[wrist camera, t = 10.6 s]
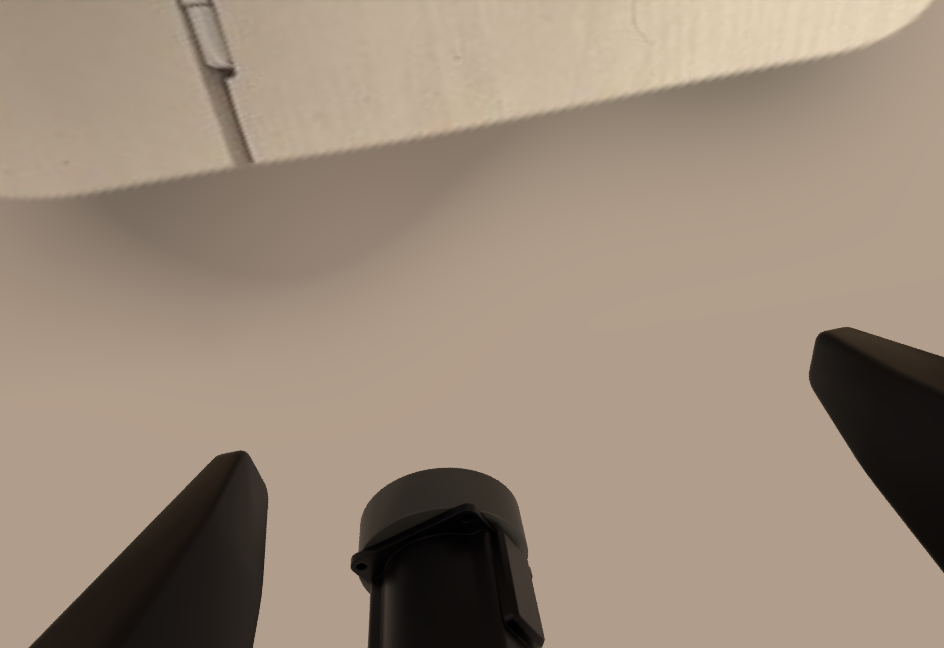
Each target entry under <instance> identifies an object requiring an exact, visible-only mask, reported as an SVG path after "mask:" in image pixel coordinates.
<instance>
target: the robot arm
mask: <svg viewBox="0 0 944 648" xmlns="http://www.w3.org/2000/svg"><path fill="white" fill-rule="evenodd" d="M809 380H810V384H811V387H812V389H813V390H814V392H815V393H816V395H817V397H818V399H819V400H820V402H821V403H822V405H823V407H824V408H825V410H826V411H827V413H828V414H829V416H830V418H831V419H832V421H833V423H834V424H835V426H836V427H837V429H838V430H839V432H840V434H841V435H842V437H843V438H844V440H845V442H846V443H847V445H848V446H849V448H850V449H851V451H852V452H853V454H854V456H855V458H856V459H857V461H858V462H859V463H860V465H861V466H862V468H863V469H864V471H865V472H866V474H867V475H868V476H869V477H870V479H871V480H872V482H873V483H874V484H875V486H876V487H877V488H878V489H879V491H880V492H881V493H882V495H884V497H885V498H886V500H887V501H888V502H889V503H890V505H891V506H892V507H893V508H894V510H895V511H896V512H897V514H898V515H899V516H900V517H901V519H902V520H903V521H904V523H905V524H906V525H907V526H908V528H909V529H910V530H911V532H912V533H913V534H914V535H915V537H916V538H917V539H918V540H919V542H920V543H921V544H922V546H923V547H924V548H925V549H926V551H927V552H928V553H929V555H930V556H931V557H932V558H933V560H934V561H935V562H936V564H937V565H938V566H939V567H940V569H941V570H942V571H943V573H944V357H942V356H939V355H935V354H932V353H929V352H926V351H923V350H920V349H916V348H913V347H910V346H907V345H904V344H900V343H897V342H894V341H891V340H888V339H885V338H882V337H879V336H876V335H873V334H869V333H866V332H863V331H860V330H857V329H854V328H850V327H843V328H837V329H833V330H828V331H824V332H822V333H820V334H819V335H818V336H817V338H816V341H815V345H814V350H813V355H812V361H811V365H810V370H809ZM267 510H268V493H267V488H266V485H265V483H264V481H263V479H262V478H261V476H260V474H259V472H258V470H257V468H256V467H255V465H254V463H253V461H252V459H251V457H250V456H249V454H248V453H246V452H245V451H235V452H230V453H225V454H221V455H218V456H216V457H215V458H214V459H213V460H212V461H211V462H210V463H209V464H208V465H207V466H206V467H205V468H204V469H203V470H202V471H201V472H200V473H199V474H198V475H197V476H196V477H195V478H194V479H193V480H192V481H191V482H190V483H189V485H187V486H186V488H185V489H184V490H183V491H182V492H181V493H180V494H179V495H178V496H177V497H176V498H175V499H174V500H173V501H172V502H171V503H170V504H169V505H168V506H167V507H166V508H165V509H164V510H163V511H162V512H161V513H160V514H159V515H158V516H157V517H156V518H155V519H154V520H153V521H152V522H151V523H150V524H149V525H148V526H147V527H146V528H145V530H143V532H141V534H140V535H139V536H138V537H137V538H136V539H135V540H134V541H133V542H132V543H131V544H130V545H129V546H128V547H127V548H126V549H125V550H124V551H123V552H122V553H121V554H120V555H119V556H118V557H117V558H116V559H115V560H114V561H113V562H112V563H111V564H110V565H109V566H108V567H107V568H106V569H105V570H104V571H103V572H102V573H101V574H100V576H98V578H96V580H95V581H94V582H93V583H92V584H91V585H90V586H89V587H88V588H87V589H86V590H85V591H84V592H83V593H82V594H81V595H80V596H79V597H78V598H77V599H76V600H75V601H74V602H73V603H72V604H71V605H70V606H69V607H68V608H67V609H66V610H65V611H64V612H63V613H62V614H61V615H60V616H59V617H58V618H57V619H56V620H55V621H54V622H53V624H51V625H50V627H49V628H48V629H47V630H46V631H45V632H44V633H43V634H42V635H41V636H40V637H39V638H38V639H37V640H36V641H35V642H34V643H33V644H32V645H31V646H30V647H29V648H253V643H254V637H255V632H256V626H257V621H258V615H259V609H260V602H261V596H262V586H263V574H264V573H263V572H264V558H265V542H266V525H267ZM466 514H467V515H466ZM351 569H352V571H353V572H355V573H356V574H357V575H358V576H359V577H361V578H362V579H363V580H364V581H366V582H367V583H368V584H369V585H370V586H371V591H370V613H369V636H368V648H542V646H543V643H544V640H545V638H544V634H543V629H542V624H541V620H540V615H539V612H538V606H537V602H536V597H535V593H534V588H533V583H532V573H531V569H530V567H529V565H528V560H527V558H526V557H525V556H524V554H523V553H522V552H521V551H520V550H519V549H518V547H517V546H516V545H515V544H514V543H513V542H512V541H511V539H510V538H509V537H508V536H507V535H506V534H505V533H504V532H502V531H500V530H497V529H496V528H495V527H494V526H493V525H492V524H491V522H490V521H489V520H488V519H487V518H486V517H485V516H484V514H483V513H482V512H481V511H480V510H479V509H478V508H477V506H475V505H474V504H471V503H464V504H461V505H459V506H456V507H454V508H452V509H450V510H448V511H446V512H444V513H441V514H439V515H437V516H435V517H433V518H431V519H429V520H426V521H424V522H422V523H420V524H418V525H416V526H414V527H411V528H409V529H407V530H405V531H403V532H401V533H399V534H396V535H394V536H392V537H390V538H388V539H386V540H384V541H381V542H379V543H377V544H375V545H373V546H371V547H369V548H366V549H364V550H362V551H360V552H358V553H356V554H355V555H353V556H352V558H351Z"/></svg>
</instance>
